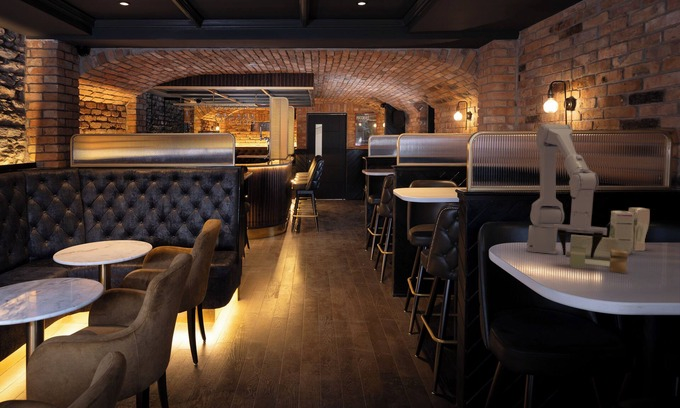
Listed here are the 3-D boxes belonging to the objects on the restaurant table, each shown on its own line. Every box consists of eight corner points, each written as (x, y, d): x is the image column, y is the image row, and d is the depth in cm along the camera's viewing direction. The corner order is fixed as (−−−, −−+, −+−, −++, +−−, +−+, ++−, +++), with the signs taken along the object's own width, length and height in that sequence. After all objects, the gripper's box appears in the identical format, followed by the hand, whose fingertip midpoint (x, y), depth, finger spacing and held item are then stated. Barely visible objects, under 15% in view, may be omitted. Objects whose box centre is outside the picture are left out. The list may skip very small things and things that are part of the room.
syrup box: (631, 254, 174) (634, 213, 172) (612, 253, 175) (616, 212, 174) (625, 251, 180) (628, 210, 178) (607, 250, 181) (610, 210, 179)
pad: (576, 264, 158) (576, 262, 158) (576, 259, 165) (576, 258, 165) (612, 267, 154) (612, 266, 154) (610, 263, 161) (610, 261, 161)
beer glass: (634, 246, 188) (638, 207, 186) (651, 250, 181) (655, 209, 179) (619, 247, 186) (623, 207, 184) (636, 251, 179) (640, 210, 177)
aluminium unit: (566, 256, 169) (567, 236, 168) (566, 253, 173) (567, 233, 172) (620, 262, 162) (622, 240, 161) (619, 259, 167) (621, 238, 166)
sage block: (569, 267, 154) (571, 248, 153) (569, 264, 158) (571, 245, 157) (584, 268, 152) (586, 249, 152) (584, 266, 156) (585, 247, 155)
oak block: (610, 271, 150) (611, 251, 149) (609, 268, 153) (610, 249, 153) (625, 273, 148) (627, 253, 147) (624, 270, 152) (626, 250, 151)
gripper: (555, 211, 152) (552, 255, 154) (609, 215, 146) (605, 261, 148) (555, 209, 159) (552, 251, 160) (607, 212, 153) (603, 256, 154)
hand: (577, 255), depth 155 cm, fingers open, 7 cm apart
